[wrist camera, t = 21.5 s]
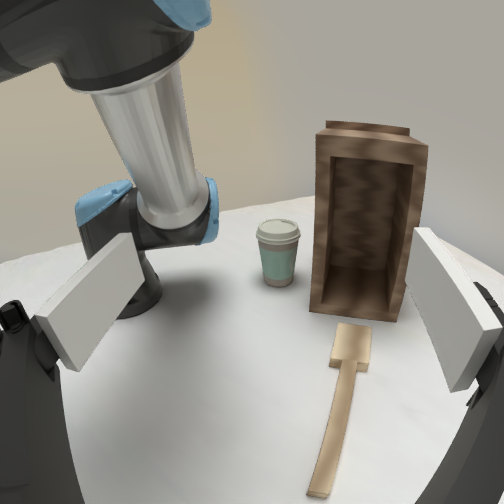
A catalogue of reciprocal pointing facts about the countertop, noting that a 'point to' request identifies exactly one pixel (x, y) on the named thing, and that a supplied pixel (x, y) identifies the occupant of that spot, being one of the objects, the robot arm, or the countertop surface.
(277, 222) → the coffee cup
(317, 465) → the beige long flat part
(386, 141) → the walnut shelf
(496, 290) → the countertop surface
